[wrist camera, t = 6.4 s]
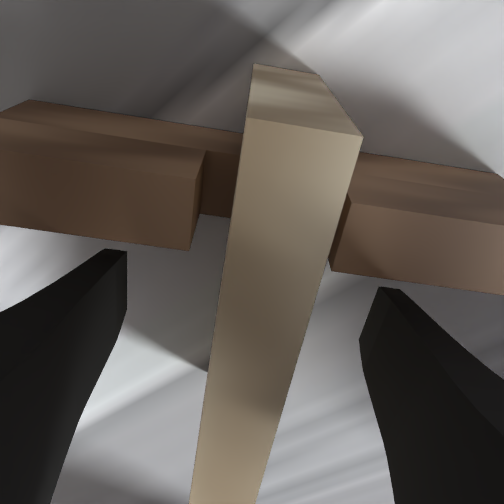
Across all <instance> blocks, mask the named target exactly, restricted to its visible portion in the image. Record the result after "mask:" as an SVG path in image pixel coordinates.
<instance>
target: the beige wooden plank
mask: <svg viewBox="0 0 504 504" xmlns="http://www.w3.org/2000/svg"><path fill="white" fill-rule="evenodd" d="M362 140H363V135H362V134H361V133H360V131H359V130H358V129H357V127H356V126H355V124H354V123H353V122H352V120H351V119H350V117H349V116H348V115H347V113H346V112H345V111H344V109H343V108H342V106H341V105H340V104H339V102H338V101H337V100H336V98H335V97H334V95H333V94H332V93H331V91H330V90H329V88H328V87H327V86H326V84H325V83H324V82H323V80H322V79H321V77H320V76H319V75H317V74H311V73H305V72H300V71H294V70H288V69H283V68H277V67H271V66H266V65H260V64H253V71H252V78H251V84H250V91H249V98H248V105H247V111H246V119H245V126H244V133H243V140H242V147H241V154H240V160H239V167H238V174H237V180H236V187H235V194H234V201H233V207H232V214H231V219H230V226H229V233H228V239H227V246H226V253H225V260H224V266H223V273H222V280H221V286H220V293H219V300H218V307H217V313H216V320H215V327H214V334H213V340H212V347H211V354H210V361H209V367H208V374H207V381H206V388H205V395H204V402H203V409H202V416H201V423H200V430H199V436H198V443H197V450H196V457H195V464H194V471H193V478H192V485H191V492H190V499H189V504H255V502H256V498H257V495H258V492H259V488H260V485H261V482H262V478H263V475H264V471H265V468H266V465H267V461H268V458H269V455H270V451H271V448H272V444H273V441H274V438H275V434H276V431H277V428H278V424H279V421H280V417H281V414H282V411H283V407H284V404H285V401H286V397H287V394H288V390H289V387H290V384H291V380H292V377H293V373H294V370H295V367H296V363H297V360H298V357H299V353H300V350H301V346H302V343H303V340H304V336H305V333H306V330H307V326H308V323H309V319H310V316H311V313H312V309H313V306H314V303H315V299H316V296H317V292H318V289H319V286H320V282H321V279H322V276H323V272H324V269H325V265H326V262H327V259H328V255H329V252H330V248H331V245H332V242H333V238H334V235H335V232H336V228H337V225H338V221H339V218H340V215H341V211H342V208H343V205H344V201H345V198H346V194H347V191H348V188H349V184H350V181H351V178H352V174H353V171H354V167H355V164H356V161H357V157H358V154H359V151H360V147H361V144H362Z"/></svg>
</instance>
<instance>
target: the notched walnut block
mask: <svg viewBox="0 0 504 504" xmlns="http://www.w3.org/2000/svg"><path fill="white" fill-rule="evenodd" d="M242 140H243V134H242V133H236V132H230V131H224V130H217V129H211V128H205V127H198V126H192V125H186V124H179V123H173V122H167V121H161V120H154V119H148V118H142V117H135V116H129V115H123V114H116V113H110V112H104V111H98V110H91V109H85V108H79V107H72V106H66V105H60V104H53V103H47V102H41V101H35V100H27V101H25V102H22V103H20V104H18V105H16V106H13V107H11V108H9V109H7V110H4V111H2V112H0V225H7V226H14V227H21V228H28V229H35V230H42V231H49V232H56V233H64V234H71V235H78V236H85V237H92V238H99V239H106V240H113V241H120V242H128V243H135V244H142V245H149V246H156V247H163V248H170V249H177V250H184V251H189V250H190V246H191V243H192V239H193V236H194V232H195V229H196V225H197V222H198V218H199V215H200V214H205V215H212V216H219V217H226V218H231V214H232V207H233V201H234V194H235V187H236V180H237V174H238V167H239V160H240V154H241V147H242ZM328 260H329V264H330V268H331V271H334V272H341V273H348V274H355V275H362V276H369V277H377V278H384V279H391V280H398V281H405V282H412V283H419V284H426V285H434V286H441V287H448V288H455V289H462V290H469V291H476V292H483V293H490V294H498V295H504V179H503V178H502V177H501V176H499V175H498V174H495V173H488V172H482V171H476V170H469V169H463V168H457V167H450V166H444V165H438V164H432V163H425V162H419V161H413V160H406V159H400V158H394V157H387V156H381V155H375V154H369V153H362V152H359V154H358V157H357V161H356V164H355V167H354V171H353V174H352V178H351V181H350V184H349V188H348V191H347V194H346V198H345V201H344V205H343V208H342V211H341V215H340V218H339V221H338V225H337V228H336V232H335V235H334V238H333V242H332V245H331V248H330V252H329V255H328Z"/></svg>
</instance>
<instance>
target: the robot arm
mask: <svg viewBox="0 0 504 504" xmlns="http://www.w3.org/2000/svg"><path fill="white" fill-rule="evenodd" d="M126 311H127V251H121V250H113V249H106V248H105V249H103V250H102V251H100V252H99V253H97V254H96V255H94V256H93V257H91V258H90V259H88V260H87V261H85V262H84V263H82V264H81V265H79V266H78V267H77V268H75V269H74V270H72V271H71V272H69V273H68V274H66V275H64V276H63V277H61V278H60V279H58V280H57V281H55V282H54V283H52V284H50V285H49V286H47V287H45V288H44V289H42V290H40V291H38V292H37V293H35V294H33V295H32V296H30V297H28V298H26V299H25V300H23V301H21V302H19V303H17V304H16V305H14V306H12V307H10V308H8V309H6V310H4V311H2V312H0V504H50V502H51V499H52V496H53V493H54V490H55V487H56V484H57V481H58V478H59V475H60V472H61V469H62V466H63V463H64V460H65V458H66V455H67V452H68V449H69V446H70V444H71V441H72V438H73V435H74V433H75V430H76V427H77V424H78V422H79V419H80V417H81V415H82V412H83V410H84V408H85V406H86V403H87V401H88V399H89V397H90V395H91V393H92V391H93V389H94V387H95V385H96V383H97V381H98V379H99V377H100V374H101V372H102V370H103V368H104V366H105V364H106V362H107V360H108V358H109V356H110V354H111V351H112V349H113V347H114V345H115V343H116V341H117V338H118V335H119V332H120V329H121V326H122V323H123V320H124V317H125V314H126ZM359 344H360V353H361V360H362V367H363V372H364V376H365V380H366V383H367V387H368V390H369V394H370V398H371V401H372V404H373V408H374V411H375V415H376V418H377V422H378V425H379V429H380V432H381V436H382V439H383V443H384V447H385V451H386V455H387V460H388V466H389V471H390V477H391V483H392V488H393V494H394V501H395V504H504V379H502V378H501V377H499V376H498V375H497V374H495V373H494V372H493V371H491V370H490V369H489V368H488V367H486V366H485V365H484V364H483V363H481V362H480V361H479V360H478V359H477V358H475V357H474V356H473V355H472V354H471V353H469V352H468V351H467V350H466V349H465V348H463V347H462V346H461V345H460V344H459V343H458V342H457V341H456V340H454V339H453V338H452V337H451V336H450V335H449V334H448V333H447V332H446V331H445V330H443V329H442V328H441V327H440V326H439V325H438V324H437V323H436V322H435V321H434V320H433V319H432V318H431V317H430V316H429V315H427V314H426V313H425V312H424V311H423V310H422V309H421V308H420V307H419V306H418V305H417V304H416V303H415V302H414V301H413V300H411V299H410V298H409V297H408V296H407V295H406V294H405V293H403V292H402V291H401V290H400V289H393V288H386V287H379V288H378V290H377V293H376V296H375V298H374V301H373V304H372V306H371V309H370V311H369V314H368V317H367V319H366V322H365V325H364V327H363V330H362V333H361V335H360V338H359Z"/></svg>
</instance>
